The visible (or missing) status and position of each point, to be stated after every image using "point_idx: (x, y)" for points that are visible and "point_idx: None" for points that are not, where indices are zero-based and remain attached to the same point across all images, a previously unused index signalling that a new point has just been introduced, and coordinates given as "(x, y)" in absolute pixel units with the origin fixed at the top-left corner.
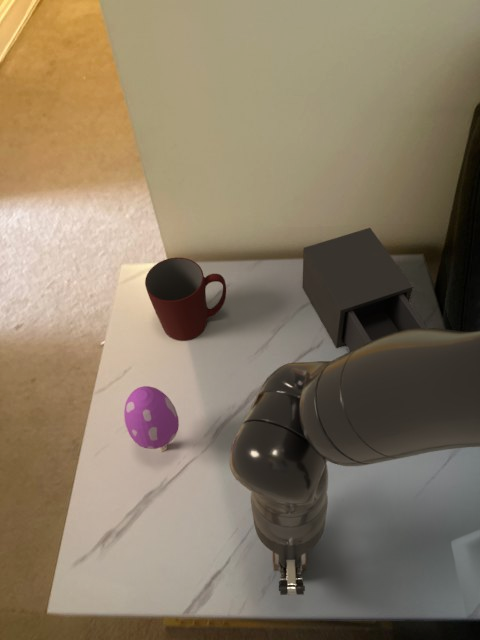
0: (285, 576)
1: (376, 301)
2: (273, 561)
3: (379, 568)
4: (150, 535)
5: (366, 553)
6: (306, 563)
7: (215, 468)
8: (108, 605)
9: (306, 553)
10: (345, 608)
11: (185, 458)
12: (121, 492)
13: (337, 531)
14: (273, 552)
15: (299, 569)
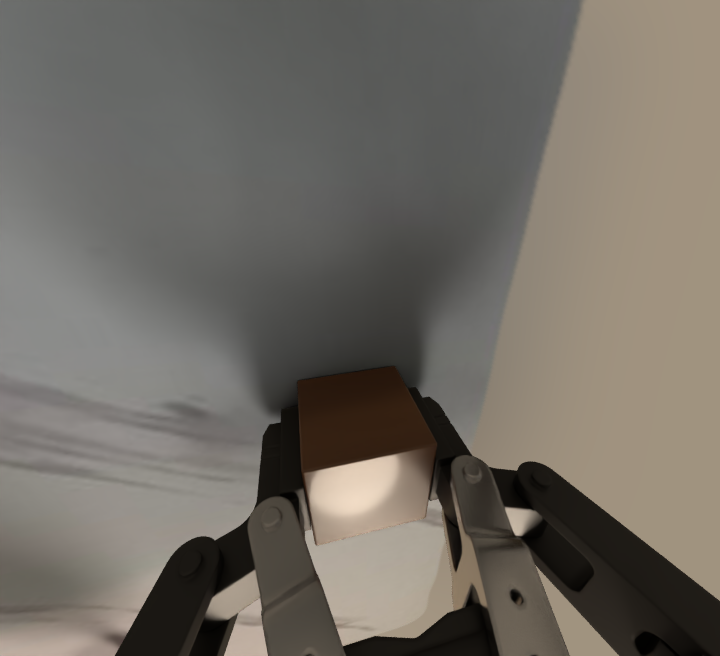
0: (515, 534)
1: None
2: (424, 516)
3: (402, 91)
4: (326, 596)
5: (339, 152)
6: (425, 422)
7: (146, 580)
8: (427, 590)
9: (407, 448)
10: (510, 252)
11: None
12: (255, 644)
13: (260, 276)
14: (397, 523)
15: (500, 504)
